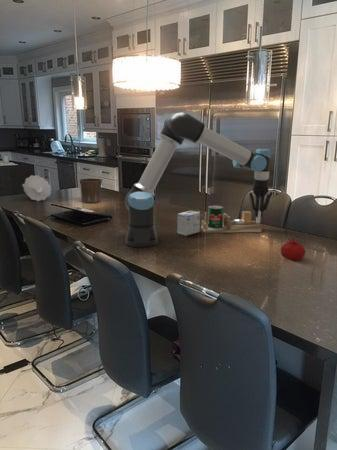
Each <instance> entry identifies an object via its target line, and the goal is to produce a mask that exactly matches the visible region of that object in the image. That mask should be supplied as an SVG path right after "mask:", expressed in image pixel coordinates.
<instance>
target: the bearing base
mask: <svg viewBox="0 0 337 450" xmlns="http://www.w3.org/2000/svg"><path fill="white" fill-rule="evenodd" d="M201 230H202V231H203V233H204V234H206V233H207V234H210V233H211V234H215V233H216V234H217V233H219V234H220V233H222V234H223V233H262V225H261V224H257V223H256V220H251V225H233V220H231V216H229V214H227V212H226V213H225V212H223V223H222V228H220V229H212V228H209V227H208V223H206V221H205V220H204V219H203V220H201Z"/></svg>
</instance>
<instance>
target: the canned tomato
mask: <svg viewBox="0 0 337 450" xmlns="http://www.w3.org/2000/svg"><path fill="white" fill-rule="evenodd" d="M207 211H208V212H207V225H208V227H209V228H212V229H220V228H222V225H223V213H224V206H222V205H218V204H215V205H213V204H211V205H208V208H207Z"/></svg>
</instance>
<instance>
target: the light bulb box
mask: <svg viewBox="0 0 337 450" xmlns="http://www.w3.org/2000/svg"><path fill="white" fill-rule="evenodd" d="M200 224H201V212H200V211H197V210H196V211H195V210H188V211H183V212H179V213H177V234H179V235H182V236H189V235H193V234H196V233H197V234H198V233H200Z"/></svg>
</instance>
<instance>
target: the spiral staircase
mask: <svg viewBox="0 0 337 450" xmlns="http://www.w3.org/2000/svg"><path fill="white" fill-rule="evenodd" d="M21 186H22V187H23V192H24V193H25V194H26V195H27V196H28V198H30V200H33V201H36V202H40V201H46V199H47V198H48V197H50V196H51V194H52V192H51V191H52V190H51V189H52V186H51V185H50V184H49V181H48V180H45V178H44V177H41V176H39V174H36V175H33V174H31V175H30V176H29V177H26V178H25V181H24V183H22V184H21Z"/></svg>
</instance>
